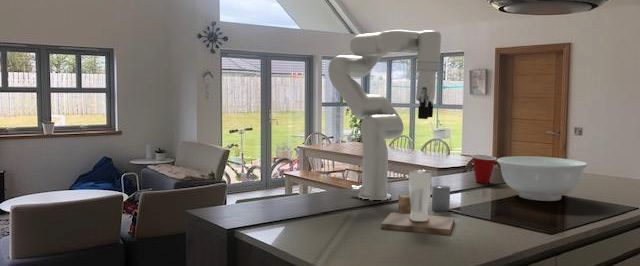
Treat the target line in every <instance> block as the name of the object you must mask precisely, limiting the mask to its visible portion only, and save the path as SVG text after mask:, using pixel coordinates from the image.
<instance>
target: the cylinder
mask: <svg viewBox="0 0 640 266" xmlns="http://www.w3.org/2000/svg"><path fill="white" fill-rule="evenodd" d="M431 195H432V196H431V210H432V211H434V212H439V213H442V212H443V213H445V212H450V203H451V198H450V197H451V187H450V186H448V185H440V184H438V185H432V190H431Z"/></svg>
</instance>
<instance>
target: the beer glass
mask: <svg viewBox="0 0 640 266" xmlns="http://www.w3.org/2000/svg"><path fill="white" fill-rule="evenodd" d="M408 175H409V176H408V195H409V197H410V204H411V211H410V216H409V220H410V221H413V222H428V221H429V215H430V213H429V206H430V205H429V204H430V199H431V197H432V196H431V195H432V186H433V184H432V183H433V181H432V171H430V170H424V169H415V170H414V169H413V170H410V171H409V173H408Z"/></svg>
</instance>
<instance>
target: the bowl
mask: <svg viewBox="0 0 640 266" xmlns="http://www.w3.org/2000/svg"><path fill="white" fill-rule="evenodd" d="M496 162H497V163H498V164H499V166H500V170H501V176H502V179H503V181H504V183H505V184H506V185H507V186H508V187H509V188H511V189H512V190H514V191H516V192H518V197H519V198H521V199H526V200H530V201H538V202H539V201H541V202H543V201H545V202H555V201H560V200H561V199H562V196H563V195H565V194H567V193H570V192H572V191H573V190H574V189H575V188H576V187H577V186H578V185H579V183H580V181H581V179H582V174H583V171H584V169H585V168H586V167H587V166H588V163H587V162H584V161H580V160H576V159H569V158H560V157H550V156H548V157H547V156H529V155H527V156H524V155H522V156H520V155H519V156H518V155H517V156H503V157H499V158H497V159H496Z"/></svg>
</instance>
